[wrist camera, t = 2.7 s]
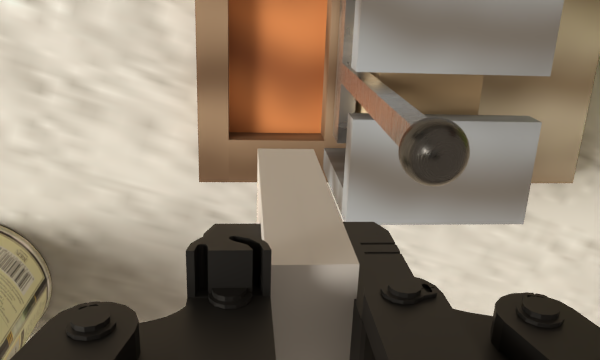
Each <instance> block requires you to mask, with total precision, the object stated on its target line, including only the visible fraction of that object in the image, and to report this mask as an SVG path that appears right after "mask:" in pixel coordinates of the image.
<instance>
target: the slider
mask: <svg viewBox="0 0 600 360" xmlns="http://www.w3.org/2000/svg"><path fill="white" fill-rule="evenodd" d="M355 1H356V0H341V1H340V18H339V36H338V53H337V70H336V88H335V105H334V122H333V136H334V138H335V140H336V142H337V143H346V137H347V122H348V113H355V102H356V100H357V101H358V102H359V103H360V104H361V106H362V107H363V108H364V109H365V110H366V111H367V112H368V113H369V114H370V116H371V117H372V118H373V119H374V120H375V121H376V122H377V123H378V124H379V126H380V127H381V128H382V129H383V130H384V131H385V132H386V133H387V134H388V136H389V137H390V138H391V139H392V140H393V141H394V142H395V143H396V145H397V146H398V147H399V149H398V154H399V160H400V164H401V166H402V168H403V170H404V171H405V173H406V174H407V175H408V176H409V177H410V178H411V179H412V180H414V181H415V182H417V183H419V184H422V185H426V186H442V185H446V184H448V183H450V182H452V181H454V180H455V179H457V178H458V177H459V176H460V175H461V174H462V173H463V171H464V170H465V168H466V166H467V164H468V161H469V157H470V146H469V141H468V138H467V136H466V134H465V133H464V131H463V130H462V129H461V128H460V127H459V126H458V125H457V124H456V123H454V122H453V121H451V120H449V119H446V118H442V117H426V116H425V115H424V114H422V113H421V112H420V111H418V110H417V109H416V108H415V107H413V106H412V105H411V104H410V103H408V102H407V101H406V100H404V99H403V98H402V97H401V96H399V95H398V94H397V93H395V92H394V91H393V90H392V89H390V88H389V87H388V86H386V85H385V84H384V83H383V82H381V81H380V80H379V79H377V78H376V77H375V76H374V75H372V74H371V73H370V72H356V71H355V70H354V69H353V68H351V62H352V47H353V32H354V17H355Z"/></svg>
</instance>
